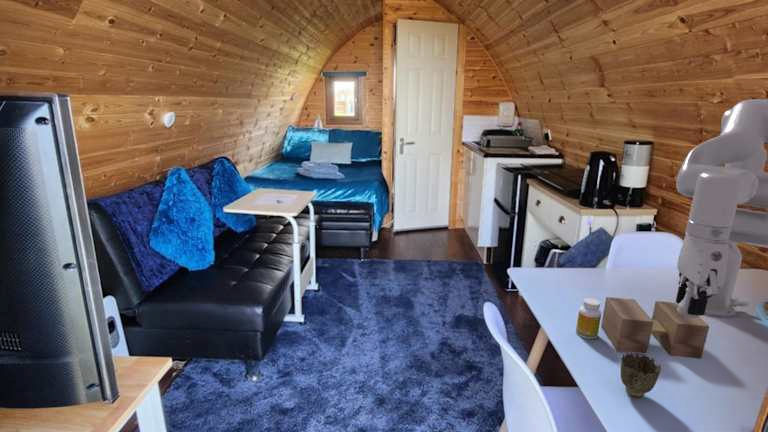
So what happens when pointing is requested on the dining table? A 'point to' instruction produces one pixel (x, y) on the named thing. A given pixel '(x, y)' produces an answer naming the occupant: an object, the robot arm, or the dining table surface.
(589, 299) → the supplement bottle
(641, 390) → the cup
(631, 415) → the dining table surface
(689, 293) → the rook chess piece
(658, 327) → the gold metallic block
